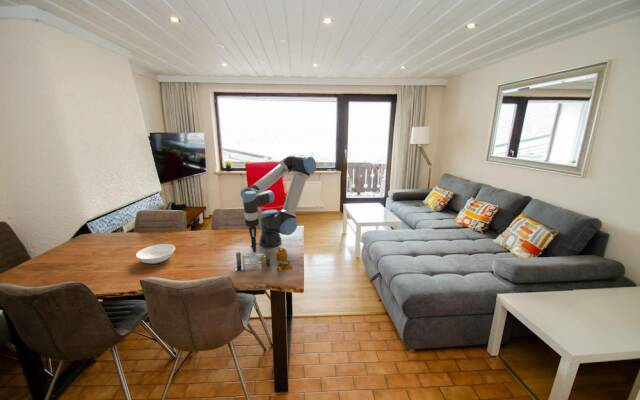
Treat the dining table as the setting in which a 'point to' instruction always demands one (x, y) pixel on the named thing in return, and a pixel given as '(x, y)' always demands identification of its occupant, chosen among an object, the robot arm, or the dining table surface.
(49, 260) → the dining table surface
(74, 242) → the dining table surface
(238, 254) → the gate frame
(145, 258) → the bowl
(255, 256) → the gate
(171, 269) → the dining table surface
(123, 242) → the dining table surface
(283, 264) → the figurine
